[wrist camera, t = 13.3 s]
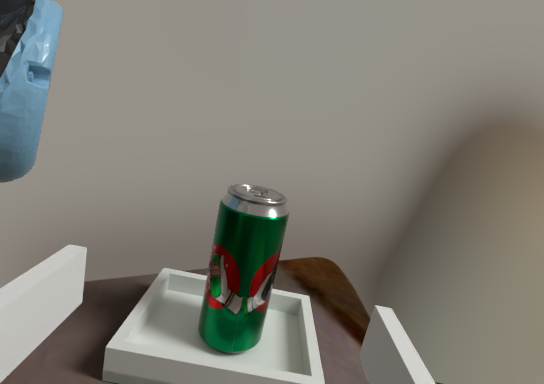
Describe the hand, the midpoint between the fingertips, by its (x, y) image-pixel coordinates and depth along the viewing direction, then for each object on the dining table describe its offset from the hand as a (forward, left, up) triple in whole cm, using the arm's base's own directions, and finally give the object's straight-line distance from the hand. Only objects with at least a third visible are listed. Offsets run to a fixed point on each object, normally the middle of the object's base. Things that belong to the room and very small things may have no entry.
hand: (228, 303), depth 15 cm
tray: (0, +10, -10) cm, 14 cm away
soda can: (0, +10, -9) cm, 13 cm away
